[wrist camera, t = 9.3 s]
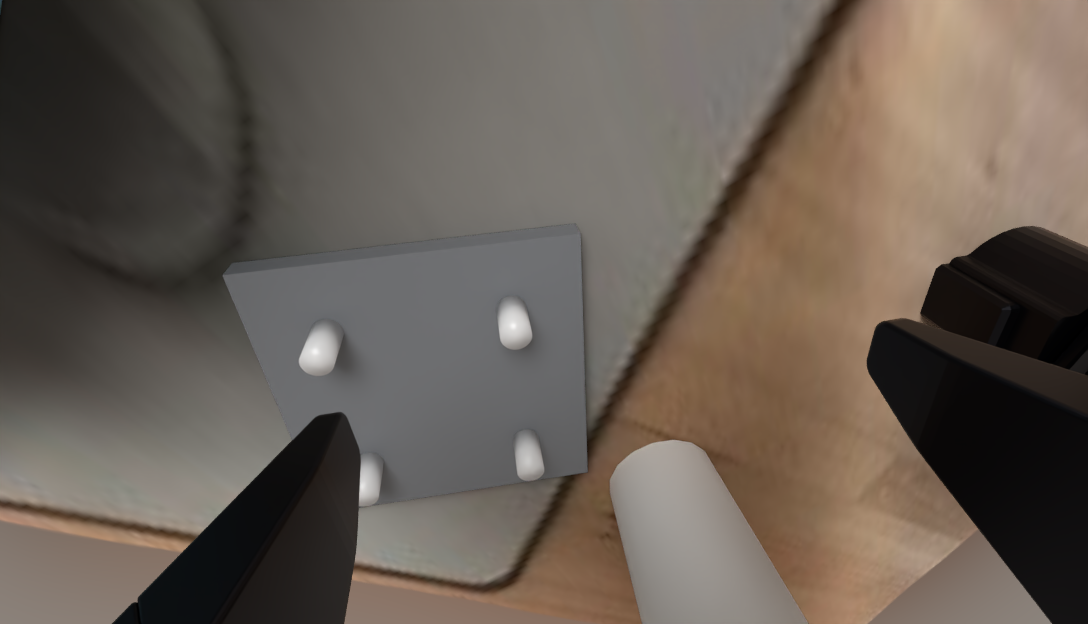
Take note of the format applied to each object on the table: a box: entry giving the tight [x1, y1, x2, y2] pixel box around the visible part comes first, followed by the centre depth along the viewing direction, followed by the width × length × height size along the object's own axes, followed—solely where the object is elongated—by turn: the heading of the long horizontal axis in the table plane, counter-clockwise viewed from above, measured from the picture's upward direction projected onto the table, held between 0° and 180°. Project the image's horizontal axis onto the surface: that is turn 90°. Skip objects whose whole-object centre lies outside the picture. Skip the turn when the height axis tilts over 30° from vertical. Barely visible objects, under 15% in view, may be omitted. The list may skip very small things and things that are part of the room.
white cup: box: [610, 440, 809, 624], centre depth 26 cm, size 7×7×10 cm
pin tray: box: [222, 224, 588, 508], centre depth 23 cm, size 13×13×3 cm
